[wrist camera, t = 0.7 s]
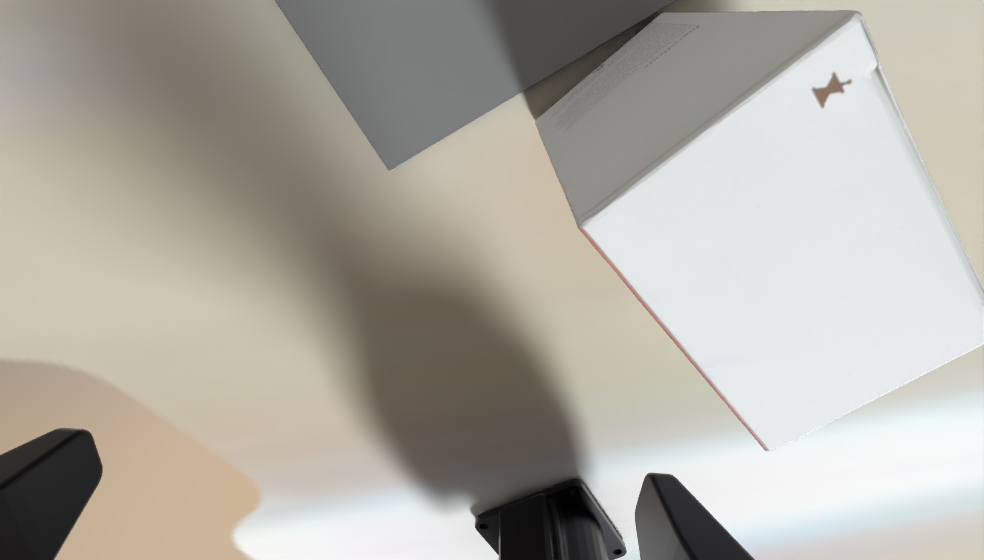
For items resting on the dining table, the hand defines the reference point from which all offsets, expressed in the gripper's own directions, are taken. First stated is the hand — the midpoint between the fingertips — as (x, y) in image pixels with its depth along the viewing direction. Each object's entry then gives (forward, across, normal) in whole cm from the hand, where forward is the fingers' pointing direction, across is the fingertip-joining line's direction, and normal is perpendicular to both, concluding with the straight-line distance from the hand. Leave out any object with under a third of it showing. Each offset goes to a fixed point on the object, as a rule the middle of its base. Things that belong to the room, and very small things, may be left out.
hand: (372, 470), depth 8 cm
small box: (+14, -8, -3) cm, 16 cm away
